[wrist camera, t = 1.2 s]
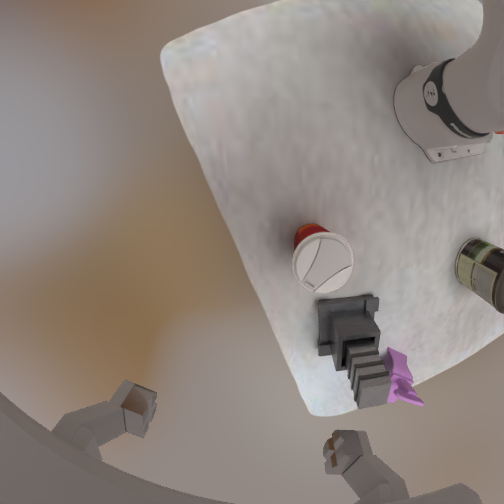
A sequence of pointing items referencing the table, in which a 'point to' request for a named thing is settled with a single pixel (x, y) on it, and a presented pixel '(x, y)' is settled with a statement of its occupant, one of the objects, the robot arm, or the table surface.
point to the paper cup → (321, 259)
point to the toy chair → (401, 380)
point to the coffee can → (482, 271)
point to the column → (366, 373)
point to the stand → (346, 324)
